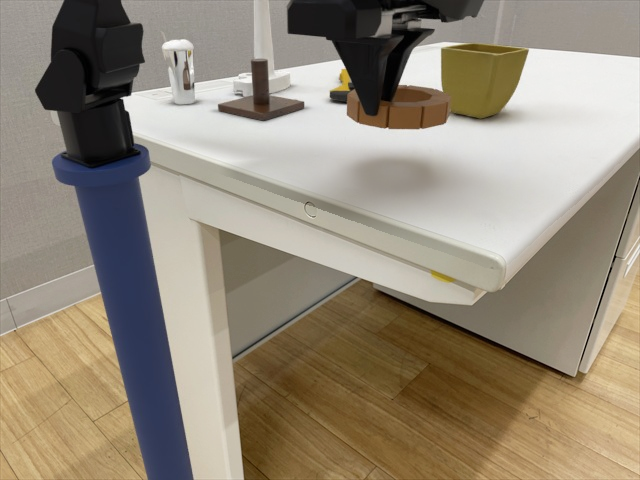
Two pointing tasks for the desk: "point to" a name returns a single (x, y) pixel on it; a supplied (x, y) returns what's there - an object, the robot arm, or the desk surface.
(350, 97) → the brick ring
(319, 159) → the desk surface
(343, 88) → the utility knife
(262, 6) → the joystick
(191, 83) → the milkshake
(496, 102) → the flower pot
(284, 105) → the peg
